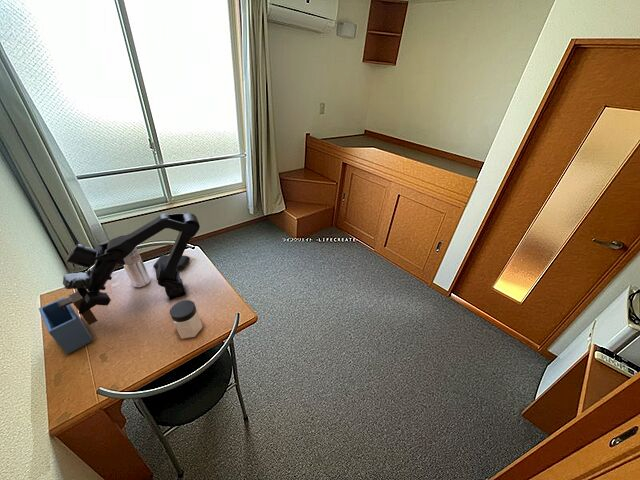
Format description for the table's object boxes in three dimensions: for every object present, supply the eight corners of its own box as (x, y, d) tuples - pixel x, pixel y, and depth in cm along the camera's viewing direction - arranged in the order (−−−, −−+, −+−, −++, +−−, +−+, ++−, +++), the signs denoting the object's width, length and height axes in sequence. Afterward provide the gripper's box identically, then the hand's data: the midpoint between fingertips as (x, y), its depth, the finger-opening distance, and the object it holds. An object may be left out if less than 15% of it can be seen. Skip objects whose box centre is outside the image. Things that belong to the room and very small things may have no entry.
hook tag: (93, 313, 96) (78, 291, 89) (97, 320, 93) (82, 298, 86) (73, 323, 92) (56, 300, 85) (78, 331, 89) (60, 308, 83)
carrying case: (151, 272, 121) (183, 273, 122) (149, 267, 119) (181, 268, 120) (162, 258, 130) (191, 259, 130) (160, 253, 128) (190, 254, 129)
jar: (174, 340, 93) (165, 319, 86) (179, 322, 99) (171, 301, 92) (201, 336, 94) (194, 315, 88) (204, 318, 101) (197, 298, 94)
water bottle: (146, 275, 119) (126, 230, 105) (153, 282, 116) (134, 236, 102) (130, 283, 114) (107, 237, 100) (137, 290, 111) (115, 244, 97)
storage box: (81, 319, 97) (65, 296, 90) (93, 340, 90) (76, 318, 84) (57, 330, 93) (38, 308, 86) (67, 354, 86) (48, 332, 79)
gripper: (66, 254, 88) (40, 293, 87) (83, 279, 78) (54, 324, 77) (103, 261, 97) (80, 297, 96) (121, 284, 88) (97, 324, 87)
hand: (78, 309), depth 89 cm, fingers closed on hook tag, 5 cm apart
